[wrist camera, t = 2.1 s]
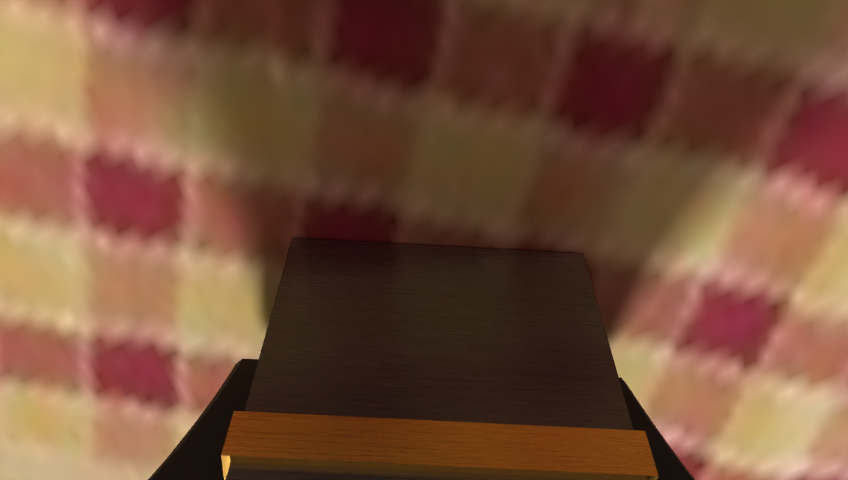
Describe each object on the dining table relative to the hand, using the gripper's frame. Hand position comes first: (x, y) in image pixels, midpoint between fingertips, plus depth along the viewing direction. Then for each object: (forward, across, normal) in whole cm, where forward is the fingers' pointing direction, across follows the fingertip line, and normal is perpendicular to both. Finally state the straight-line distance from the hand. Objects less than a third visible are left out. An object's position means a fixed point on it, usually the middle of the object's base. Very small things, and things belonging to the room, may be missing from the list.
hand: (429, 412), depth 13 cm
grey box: (+1, 0, 0) cm, 1 cm away
